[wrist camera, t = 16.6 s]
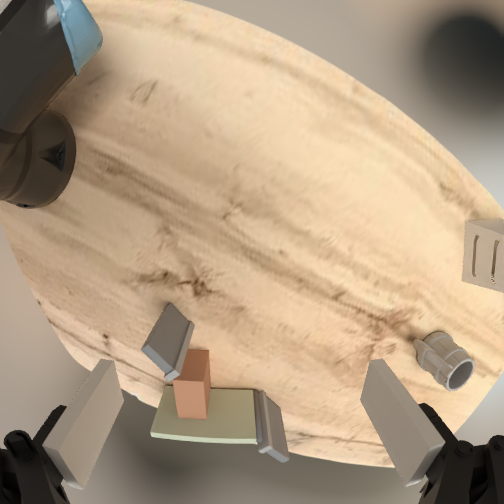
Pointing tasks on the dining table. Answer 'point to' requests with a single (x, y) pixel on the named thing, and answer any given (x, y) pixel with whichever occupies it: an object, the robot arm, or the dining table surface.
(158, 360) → the frame
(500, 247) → the grater
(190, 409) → the orange brown rectangular block
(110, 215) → the dining table surface
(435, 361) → the mug
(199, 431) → the door
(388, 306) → the dining table surface
